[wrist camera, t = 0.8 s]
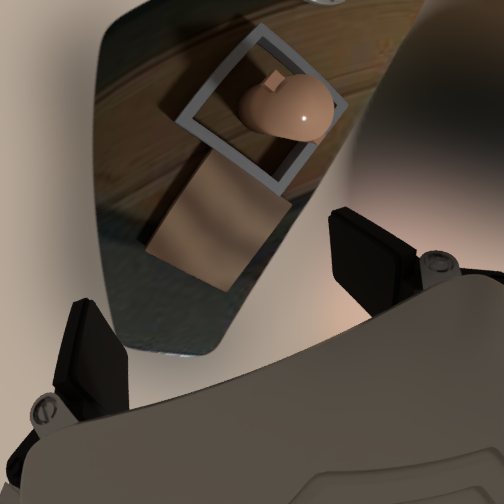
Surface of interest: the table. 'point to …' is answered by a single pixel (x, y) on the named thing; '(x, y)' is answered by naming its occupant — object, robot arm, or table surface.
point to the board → (217, 222)
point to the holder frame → (184, 119)
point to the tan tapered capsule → (288, 107)
